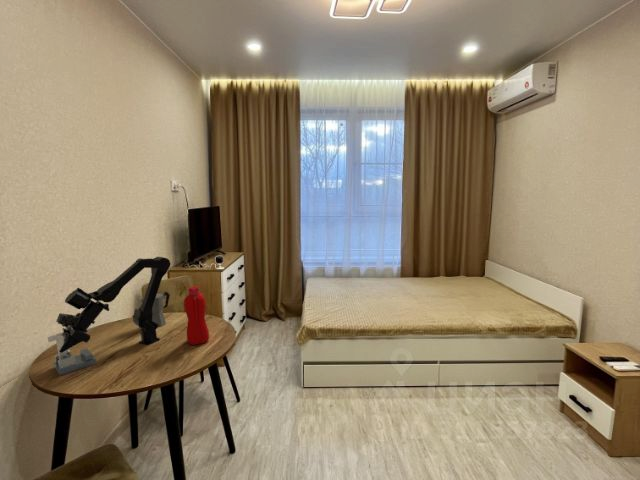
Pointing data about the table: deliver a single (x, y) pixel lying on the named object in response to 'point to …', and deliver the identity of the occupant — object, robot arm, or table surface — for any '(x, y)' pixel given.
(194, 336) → the water bottle
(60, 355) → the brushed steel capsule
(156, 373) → the table surface
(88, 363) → the vise
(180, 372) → the table surface
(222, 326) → the table surface
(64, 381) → the table surface
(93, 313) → the robot arm
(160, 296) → the coffeepot
